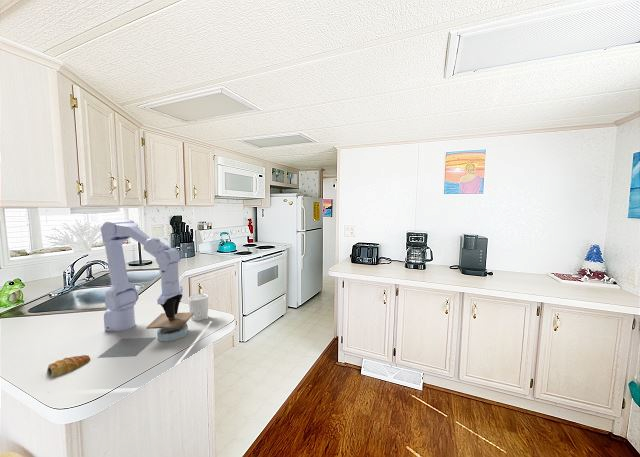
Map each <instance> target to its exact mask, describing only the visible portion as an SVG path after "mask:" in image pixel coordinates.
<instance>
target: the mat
mask: <svg viewBox="0 0 640 457" xmlns="http://www.w3.org/2000/svg"><path fill="white" fill-rule="evenodd" d="M156 339H157V337H155V336H154V337H138V338H137V337H134V338H133V337H132V338H130V337H129V338H122V339H120V340H119V341H118V342H116V343H115V344H114V345H112V346H110V347H109V348H108V349H107V350H105V351H104V352H103V353H101V354H100V355H99V356H97V357H96V358H97V359H100V358H126V357H137V356H138V355H139V354H140V353H141V352H143V350H145V349H146V347H148V346H149V345H150V344H151V343H152V342H153V341H154V340H156Z"/></svg>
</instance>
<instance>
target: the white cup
mask: <svg viewBox="0 0 640 457" xmlns="http://www.w3.org/2000/svg"><path fill="white" fill-rule="evenodd" d="M187 299H188V305H189V306H188V307H189V312H194V314H193V315H192V316H191V318H190V320H191V321H196V322H197V321H202V320H207V319H208V317H209V313H208V312H209V295H208V294H205V293H198V294H194V295H191V296H189V297H188V298H187Z"/></svg>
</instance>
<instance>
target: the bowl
mask: <svg viewBox="0 0 640 457" xmlns="http://www.w3.org/2000/svg"><path fill="white" fill-rule="evenodd" d="M187 323H188V322H187ZM187 323H186V324H185V325H184V326H183V327H181V328H157V330H156V332H157V333H156V335H157V337H156V338H157V340H158V341H160V342H172V341H175V340H179V339H182V338H183V337H185V336H186V335H187V334H188V333H189V327H188V324H187ZM175 330H177V331H175ZM171 331H175V332H171ZM168 332H169V333H168Z"/></svg>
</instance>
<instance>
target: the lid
mask: <svg viewBox="0 0 640 457" xmlns="http://www.w3.org/2000/svg"><path fill="white" fill-rule="evenodd" d="M193 314H194V312H190V311H189V312H177V314H175V308H174V316H173V318H167V316H166V314H165V312H164V313H160V314H159V315H158V316H157V317H156V318H154V320H153V321H152V322H150V324H148V325H147V326H146V330H152V329H153V330H154V329H155V330H156V329H157V330H158V329H159V328H181V327H183V326H184V325H185V324H186V323H188V322H189V320H191V316H192V315H193Z"/></svg>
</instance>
